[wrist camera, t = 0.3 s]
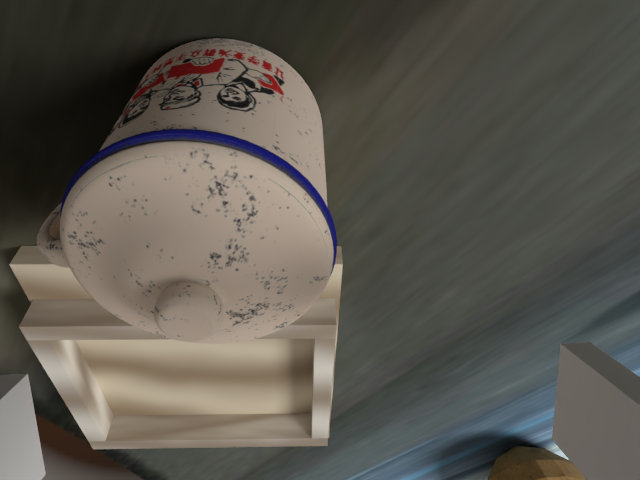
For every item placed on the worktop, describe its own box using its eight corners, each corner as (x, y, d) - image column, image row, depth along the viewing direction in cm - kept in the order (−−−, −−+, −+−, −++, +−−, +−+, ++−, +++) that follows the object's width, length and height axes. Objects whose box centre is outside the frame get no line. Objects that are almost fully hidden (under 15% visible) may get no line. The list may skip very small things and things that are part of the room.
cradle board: (21, 245, 27) (-9, 292, 25) (341, 246, 28) (344, 291, 25) (112, 423, 40) (99, 465, 38) (328, 420, 41) (329, 462, 38)
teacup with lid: (296, 1, 19) (290, 159, 10) (346, 184, 25) (369, 382, 16) (29, 79, 21) (-165, 270, 12) (134, 232, 27) (54, 435, 18)
